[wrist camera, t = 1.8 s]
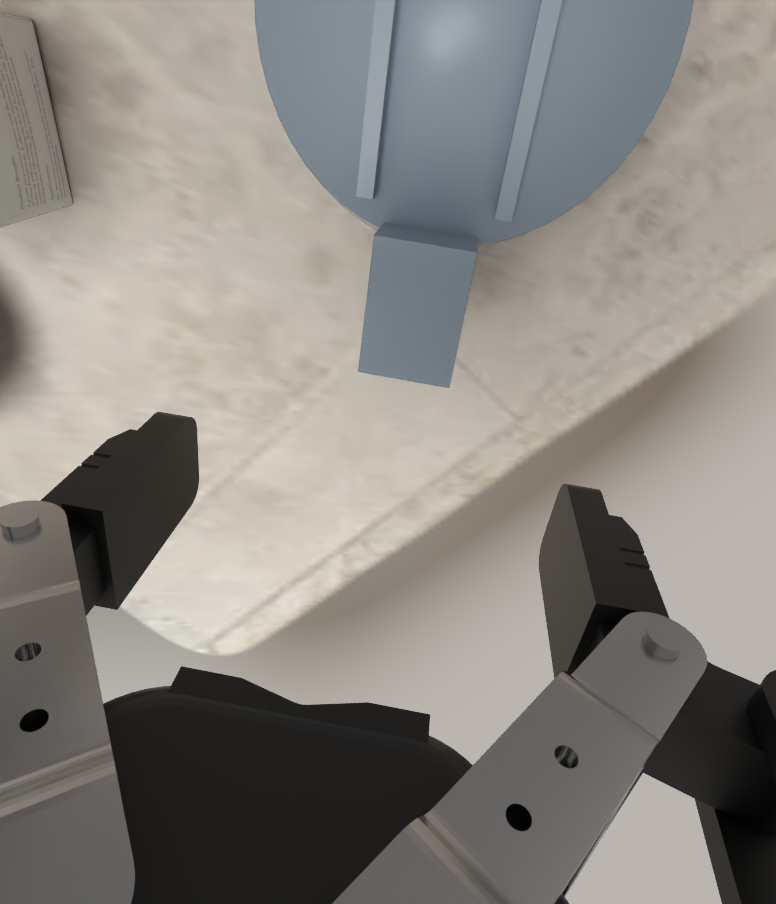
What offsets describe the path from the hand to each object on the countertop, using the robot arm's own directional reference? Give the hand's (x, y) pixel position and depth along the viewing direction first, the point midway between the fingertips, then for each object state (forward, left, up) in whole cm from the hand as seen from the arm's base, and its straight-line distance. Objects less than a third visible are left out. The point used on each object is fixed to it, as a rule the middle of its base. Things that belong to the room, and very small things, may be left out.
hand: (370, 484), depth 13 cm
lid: (-7, 0, -13) cm, 15 cm away
